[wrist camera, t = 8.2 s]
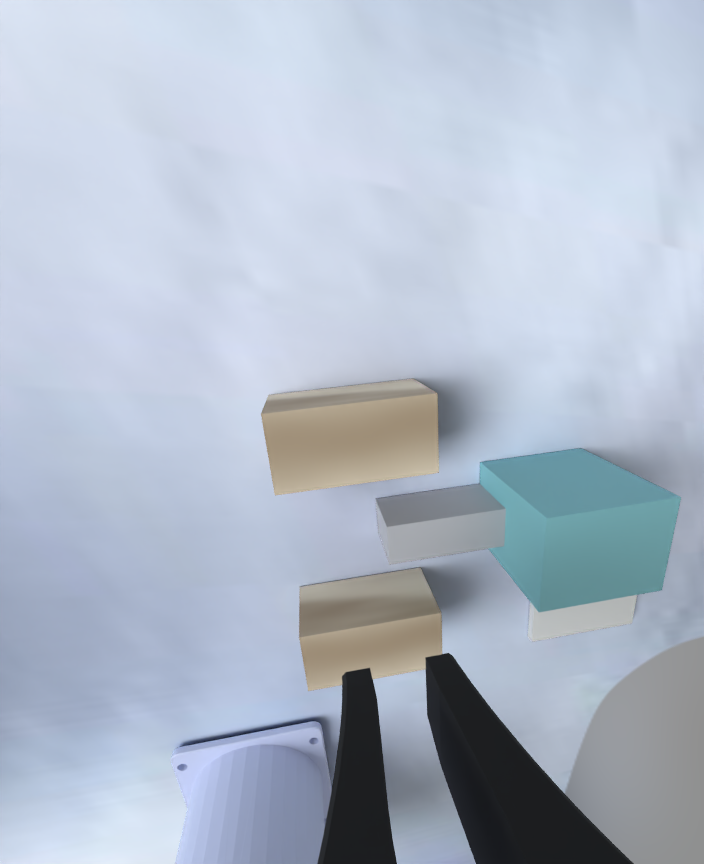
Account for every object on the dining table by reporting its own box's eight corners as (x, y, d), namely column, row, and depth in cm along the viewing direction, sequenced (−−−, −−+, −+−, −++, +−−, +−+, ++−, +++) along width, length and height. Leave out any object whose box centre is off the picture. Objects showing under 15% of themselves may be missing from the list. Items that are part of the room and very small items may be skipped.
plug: (572, 521, 19) (661, 590, 14) (379, 552, 18) (407, 636, 14) (580, 448, 18) (681, 497, 13) (373, 476, 17) (401, 540, 12)
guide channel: (422, 615, 20) (442, 666, 17) (307, 634, 19) (308, 691, 16) (413, 378, 16) (437, 393, 13) (268, 394, 15) (261, 414, 12)
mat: (626, 617, 22) (632, 623, 21) (527, 636, 21) (531, 641, 21) (642, 527, 20) (648, 531, 19) (534, 544, 19) (538, 549, 19)
